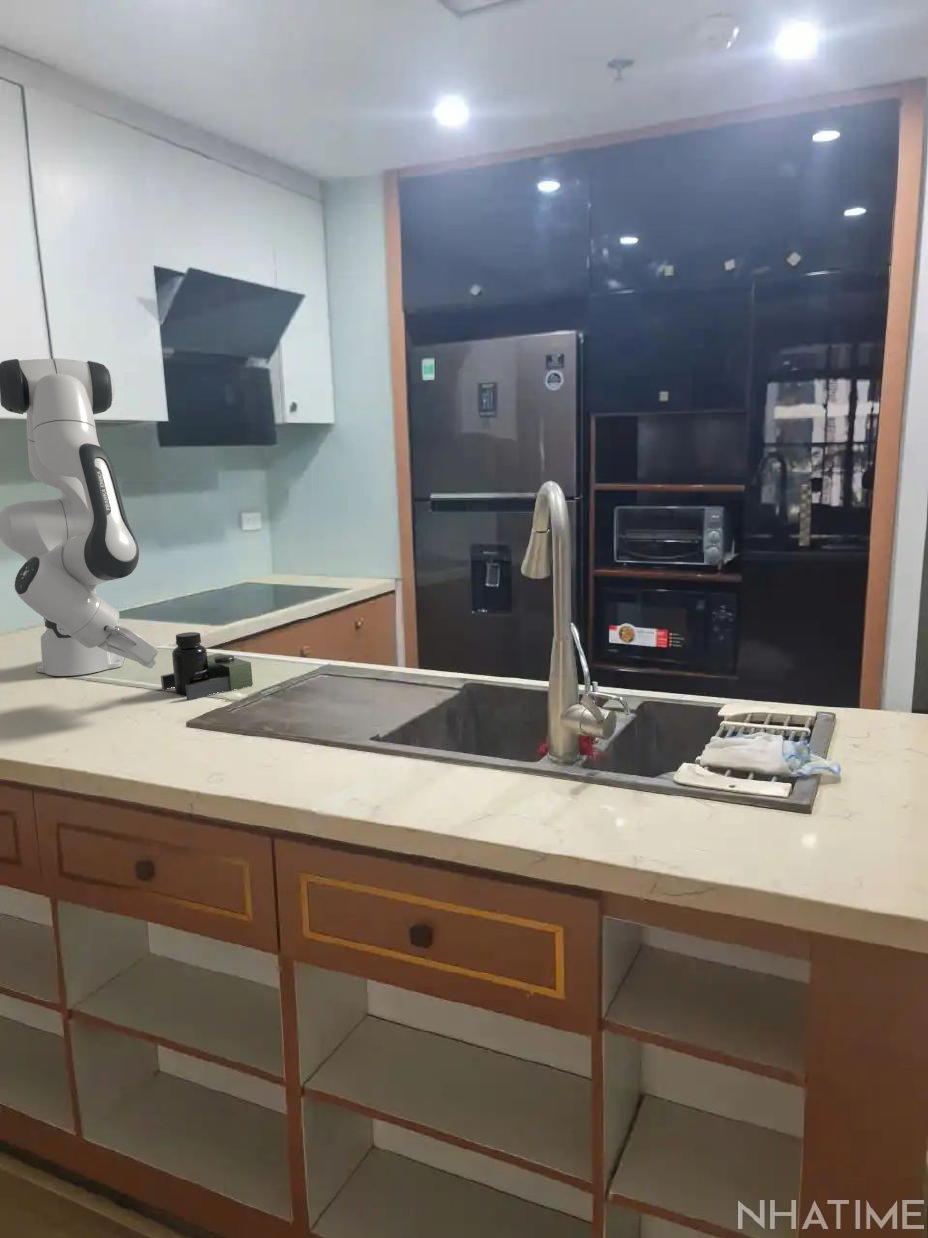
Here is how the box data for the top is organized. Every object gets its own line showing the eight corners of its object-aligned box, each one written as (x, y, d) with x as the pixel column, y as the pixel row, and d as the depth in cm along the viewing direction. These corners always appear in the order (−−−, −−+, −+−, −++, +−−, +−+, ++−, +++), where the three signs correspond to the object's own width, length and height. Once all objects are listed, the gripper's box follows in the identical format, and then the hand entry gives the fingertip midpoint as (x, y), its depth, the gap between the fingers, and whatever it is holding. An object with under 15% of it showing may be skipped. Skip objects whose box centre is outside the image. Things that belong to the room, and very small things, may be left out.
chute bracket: (190, 700, 174) (187, 673, 173) (160, 689, 183) (158, 663, 182) (252, 685, 183) (250, 659, 182) (221, 675, 193) (219, 650, 191)
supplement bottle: (205, 695, 178) (200, 637, 175) (171, 696, 177) (165, 638, 175) (213, 686, 184) (208, 630, 182) (180, 687, 184) (175, 631, 182)
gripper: (129, 617, 159) (184, 659, 168) (85, 605, 174) (138, 644, 182) (107, 645, 157) (165, 686, 166) (65, 631, 172) (119, 669, 180)
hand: (150, 664), depth 174 cm, fingers closed
